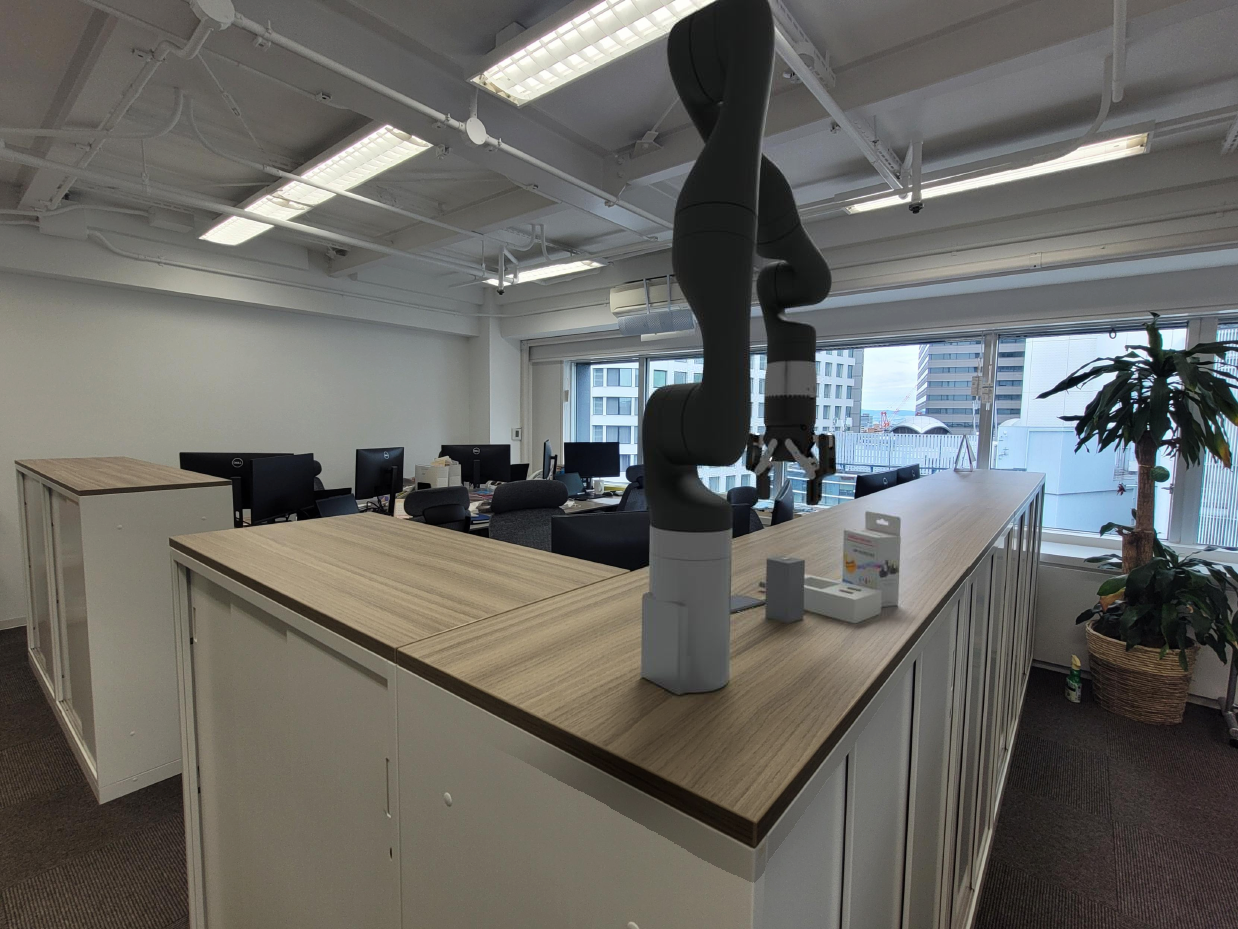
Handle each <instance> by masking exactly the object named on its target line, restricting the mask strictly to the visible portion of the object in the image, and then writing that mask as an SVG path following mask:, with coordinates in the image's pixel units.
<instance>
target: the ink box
mask: <svg viewBox="0 0 1238 929" xmlns="http://www.w3.org/2000/svg"><path fill="white" fill-rule="evenodd" d="M864 519H865V524H864V526H865V528H844V529H843V543H842V545H843V548H842V571H841V572H842V577H841V580H842V581H841V582H843V583H848V584H853V585H857V586H862V587H866V588H871V589H875V590H880V591H882V596H881V608H885V607H894V606H898V605H899V594H900V591H899V588H900V563H901V560H900V559H901V544H902V543H901V540H902V538H901V522H902V521H901V520H902V519H901V517H900V516H895V515H891V514H885V513H879V512H872V511H868V510H867V511H865V514H864ZM882 520H883V521H884V522H887V523H888V524H883V523H878V522H877V521H882Z"/></svg>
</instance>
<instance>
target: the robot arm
mask: <svg viewBox="0 0 1238 929" xmlns="http://www.w3.org/2000/svg"><path fill="white" fill-rule="evenodd" d="M769 1H770V0H714V1H712V2H709V3H708V4H706V5H705V6H703V7H701V8H699V9H696V10H694V11H693V12H691V13H689V14H688V15H686V16H684V17H683V18H681V19H680V20H678V21H677V22H676V23H674V25H673V26H672V27H671V28H670V31H669V33H668V34H669V35H668V37H667V44H666V55H667V57H666V58H667V64H668V68H669V73H670V76H671V79H672V82H673V84H674V87H675V90H676V91H677V94H678V97H679V98H680V100H681V103H682V105H683V106H684V108H685V111H686V112H687V114H688V116H689V118H690V119H691V121H692V123H693V125H694V127H695V129H696V130H697V132H698V134H699V135H700V138H701V139H702V141H703V143H704V146H703V148H702V150H701V152H700V153H699V155H698V157H697V159H696V160H695V162H694V164H693V166H692V168H691V170H690V171H689V173H688V175H687V177H686V179H685V181H684V183H683V185H682V188H681V190H680V192H679V194H678V196H677V200H676V204H675V208H674V213H673V214H674V216H673V228H672V243H671V266H672V271H673V274H674V277H675V279H676V281H677V282H676V283H677V285H678V286H679V289H680V291H681V293H682V295H683V296H684V298H685V300H686V302H687V304H688V305H689V307H690V309H691V312H692V313H693V316H694V318H695V319H696V321H697V323H698V327H699V329H700V334H701V339H702V350H703V351H702V352H703V354H702V355H703V356H702V360H703V362H702V373H701V374H702V375H701V376H702V377H701V380H700V381H701V382H700V381H699V382H687V383H673V384H666V385H662V386H659V387H658V388H656V389H655V390H653V392H651V393H652V394H650V396H649V398H648V400H647V402H646V403H645V407H644V409H643V416H642V424H641V425H642V427H641V445H642V446H641V447H642V448H641V449H642V468H643V470H642V471H643V473H642V474H643V475H642V476H643V493H644V498H645V503H646V505H647V508H648V510H649V554H648V555H649V564H648V570H649V572H648V592H645V593H643V594H642V598H641V645H640V646H641V649H640V650H641V651H640V652H641V657H640V658H641V659H640V664H641V665H640V667H641V668H640V676H641V677H642V678H644V679H646V680H648V681H650V682H652V683H654V684H656V685H657V686H660V687H662V688H664V689H666V690H667V691H670V693H673V694H675V695H677V696H678V695H679V696H680V695H683V694H688V693H706V692H712V691H715V690H718V689H721V688H723V687H724V686H726V685H727V684H728V682H729V681H730V656H731V651H730V650H731V614H730V611H731V596H732V595H731V594H732V558H733V557H732V556H733V554H732V553H733V552H732V551H733V518H734V516H733V507H732V503H731V502H730V501H728V500H727V499H726V498H724V497H722V496H721V495H719V494H717V493H715V492H714V491H713V490H711V489H709V488H708V487H707V486H706V484H704V483H703V481H702V480H701V478H700V475H699V470H698V467H713V468H714V467H720V468H721V467H722V468H723V467H730V466H732V465H734V464H736V463H738V461H740V459H741V458H742V457H743V455H744V454H745V467H744V468H745V470H746V471H747V472H748V471H749V472H751V473H754V474H755V477H756V478H755V482H756V483H755V494H756V496H757V499H758V500H761V501H765V500H770V498H771V478H772V477H771V475H770V474H771V472H772V471H773V469H774V468H775V466H777V465H779V463H783V462H784V463H797V464H798V466H799V467H800V468H802V469H803V471H804V472H805V474H806V476H807V477H808V479H806V490H805V491H806V492H805V493H806V494H805V496H806V497H805V504H806V505H807V506H811V507H812V506H818V505H819V504H820V502H821V501H822V499H823V481H824V479H825V478H826V477H830V476H835V475H836V474H837V453H836V451H837V450H836V445H837V444H836V435H835V434H834V433H828V432H825V433H824V432H823V433H820V434H816V432H815V426H816V423H817V397H818V396H817V393H818V392H817V391H818V376H817V366H816V365H817V364H816V362H817V360H816V359H817V358H816V356H817V355H816V354H817V330H816V327H815V326H814V325H813V324H811V323H809V322H803V321H793V320H789V319H788V318H787V315H786V309H787V310H788V309H794V308H802V307H810V306H815V305H819V304H821V303H822V302H823V301H824V300H825V299H827V298H828V296H829V294H830V292H831V288H832V280H833V279H832V272H831V268H830V265H829V263H828V261H827V260H826V258H825V257H824V255H823V253H822V252H821V251H820V249H819V248H818V246H817V245H816V243H815V242H814V240H813V239H812V238H811V236H810V234H809V233H808V232H807V230H806V228H805V226H804V225H803V221H802V219H801V218H802V217H801V214H800V210H799V208H798V204H797V201H796V198H795V193H794V191H793V189H792V186H791V184H790V181H789V180H788V178H787V177H786V175H785V173H784V172H783V171H782V170H781V169H780V168H779V166H778V165H777V164H776V163H775V162H774V161H773V160H771V158H769V157H768V156H767V155H766V154H765V153H763V145H764V144H763V143H764V142H763V141H764V136H765V129H766V121H767V115H768V108H769V102H770V96H771V90H772V82H773V79H774V78H773V76H774V70H775V62H776V42H777V40H776V26H775V20H774V14H773V9H772V8H771V4H770V2H769ZM756 255H757V256H758V257H760V258H761V259H762V258H763V259H768V260H776V261H773V262H770V263H767V264H765V265H764V266H763V267H762V268H761V270H760V271H759V273H758V276H757V278H756V283H755V288H756V290H755V291H756V296H757V299H758V302H759V306H760V311H761V313H762V318H763V323H764V327H765V333H766V340H767V343H766V368H765V374H764V386H763V388H764V391H763V392H764V394H763V424H764V427H765V431H764V433H756V432H752V433H751V432H750V431H751V423H752V422H751V421H752V385H751V382H752V380H751V379H752V378H751V374H752V372H751V315H752V300H753V299H752V296H753V294H752V293H753V281H754V270H755V262H756ZM777 260H778V261H777ZM764 446H765V447H766V449H765V451H764V452H763V447H764ZM814 446H816V448H817V449H818V458H817V456H816V454H815V452H813V448H814ZM745 451H746V452H745Z"/></svg>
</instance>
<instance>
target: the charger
mask: <svg viewBox="0 0 1238 929" xmlns="http://www.w3.org/2000/svg"><path fill="white" fill-rule="evenodd" d="M805 564H806V560H805V559H801V558H797V557H796V558H795V557H791V556H786V555H778V556H772V557H769V558H768V557H767V558H766V574H765V575H766V576H765V583H766V599H765V601H766V605H765V618H767V619H770V620H771V619H772V620H774V621H777V622H781V623H785V624H787V625H788V624H791V623H794V622H797V621H800V620H803V619H804V611H805V610H804V574H806V573H805V571H806V569H805Z"/></svg>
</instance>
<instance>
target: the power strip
mask: <svg viewBox="0 0 1238 929" xmlns="http://www.w3.org/2000/svg"><path fill="white" fill-rule="evenodd" d="M758 587H759V588H761V589H765V591H764V595H765V596H764V598H766V582H764V581H760V582H758ZM881 596H882V591H880V590H875V589H871V588H866V587H862V586H857V585H853V584H848V583H843V582H842V581H839V580H835V579H830V578H825V577H819V576H817V575H812V574H806V573H805V574H804V611H807V612H812V613H816V614H819V615H823V616H825V617H830V618H832V619H837V620H839V621H844V622H847V623H851V624H857V623H860V622H863V621H865V620H867V619H870V618H871V619H872V618H873V617H875V616H878V615H880V614H882V607H881Z"/></svg>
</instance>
